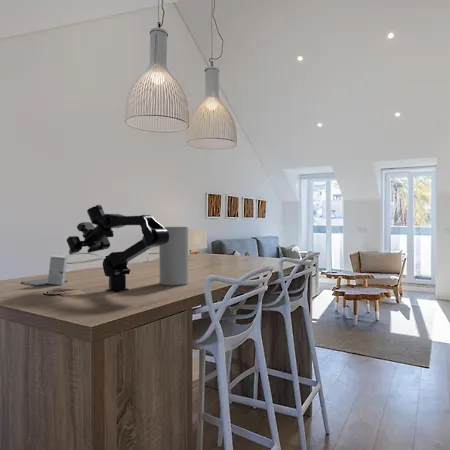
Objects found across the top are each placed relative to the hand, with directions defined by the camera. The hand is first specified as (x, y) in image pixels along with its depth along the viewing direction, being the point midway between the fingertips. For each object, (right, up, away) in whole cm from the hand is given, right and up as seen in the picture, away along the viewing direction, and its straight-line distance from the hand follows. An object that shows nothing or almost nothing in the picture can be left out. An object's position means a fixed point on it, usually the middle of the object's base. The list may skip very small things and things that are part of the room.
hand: (78, 252), depth 161 cm
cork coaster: (+5, -14, -19) cm, 24 cm away
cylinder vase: (+41, -14, +3) cm, 43 cm away
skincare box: (-11, -14, +2) cm, 18 cm away
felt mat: (-19, -14, +7) cm, 25 cm away
